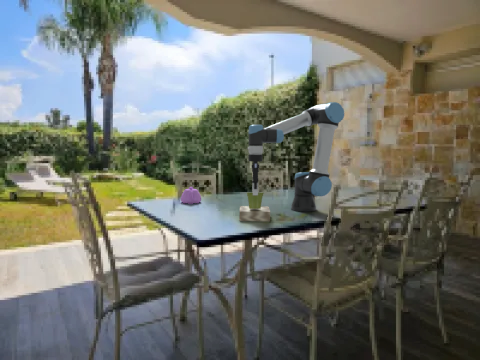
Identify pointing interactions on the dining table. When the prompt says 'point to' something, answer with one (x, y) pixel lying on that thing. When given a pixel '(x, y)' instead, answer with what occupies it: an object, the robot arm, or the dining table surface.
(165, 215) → the dining table surface
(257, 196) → the plant pot
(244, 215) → the birch pedestal block
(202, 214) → the dining table surface
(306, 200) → the robot arm
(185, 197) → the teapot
